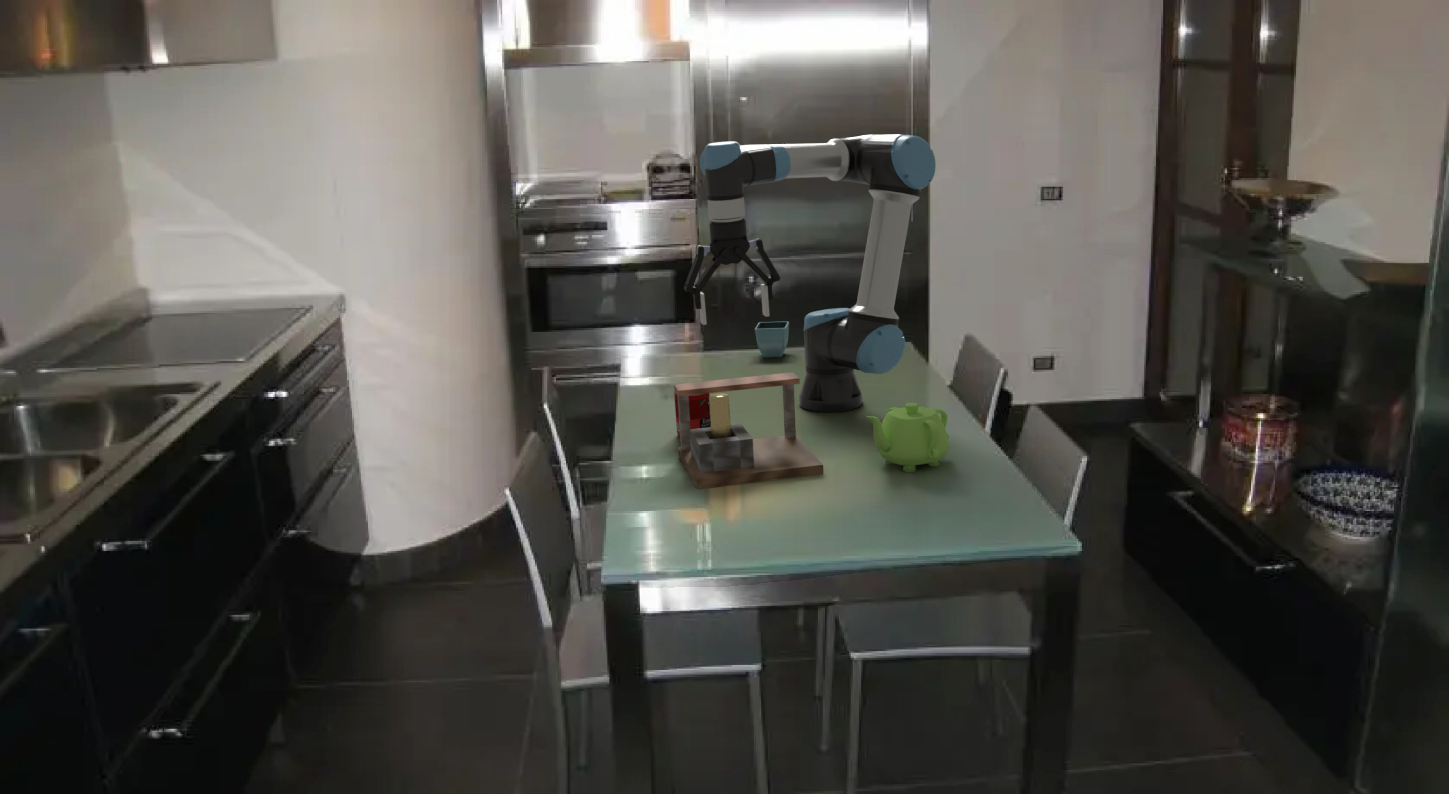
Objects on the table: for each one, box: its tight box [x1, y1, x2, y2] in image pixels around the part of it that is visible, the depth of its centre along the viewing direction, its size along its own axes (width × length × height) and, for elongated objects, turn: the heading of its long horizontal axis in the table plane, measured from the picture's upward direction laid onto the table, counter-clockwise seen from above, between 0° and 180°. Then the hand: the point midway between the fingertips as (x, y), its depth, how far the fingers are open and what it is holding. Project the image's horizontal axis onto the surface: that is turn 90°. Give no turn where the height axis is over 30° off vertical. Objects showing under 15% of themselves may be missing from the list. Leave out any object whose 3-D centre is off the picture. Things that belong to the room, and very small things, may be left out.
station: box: [673, 371, 824, 490], centre depth 255 cm, size 26×22×16 cm
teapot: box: [866, 402, 950, 473], centre depth 250 cm, size 16×14×13 cm
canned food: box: [673, 389, 711, 438], centre depth 278 cm, size 8×8×11 cm
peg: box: [709, 393, 731, 439], centre depth 252 cm, size 4×4×14 cm
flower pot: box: [754, 321, 790, 359], centre depth 348 cm, size 9×9×9 cm
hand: (735, 319), depth 259 cm, fingers open, 13 cm apart
